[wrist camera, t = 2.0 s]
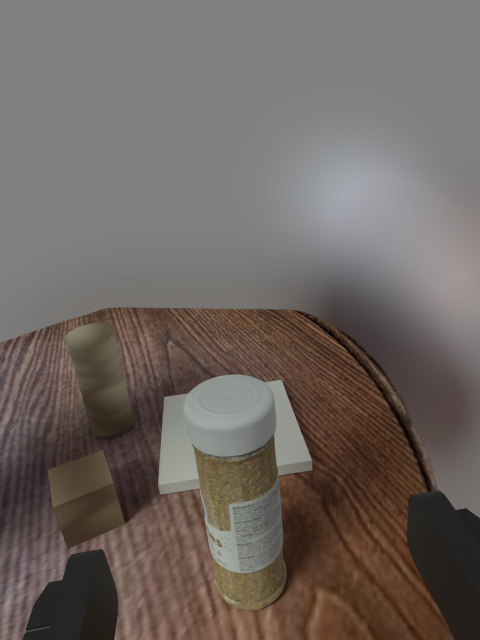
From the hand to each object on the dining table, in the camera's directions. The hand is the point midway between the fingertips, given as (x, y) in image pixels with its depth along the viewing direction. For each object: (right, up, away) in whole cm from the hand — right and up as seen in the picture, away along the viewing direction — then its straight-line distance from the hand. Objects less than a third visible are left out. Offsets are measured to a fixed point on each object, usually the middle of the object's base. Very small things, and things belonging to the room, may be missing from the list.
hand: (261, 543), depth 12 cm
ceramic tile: (-1, -4, +28) cm, 29 cm away
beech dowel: (-13, -4, +31) cm, 34 cm away
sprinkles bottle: (0, -10, +16) cm, 19 cm away
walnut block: (-11, -9, +21) cm, 26 cm away
